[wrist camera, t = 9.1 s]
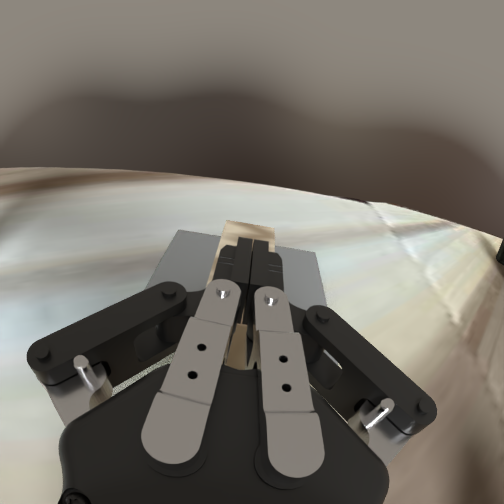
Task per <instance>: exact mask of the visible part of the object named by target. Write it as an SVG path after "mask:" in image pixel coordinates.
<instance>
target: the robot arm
mask: <svg viewBox="0 0 504 504" xmlns="http://www.w3.org/2000/svg"><path fill="white" fill-rule="evenodd" d="M252 244H253V247H252ZM243 309H244V312H243ZM242 314H243V321H242V324H245V325H247V331H246V336H245V370H238V369H235V368H232V367H229V366H227V365H226V364H227V360H228V356H229V351H230V347H231V343H232V339H233V334H234V333H235V331H236V326H237V323H238V324H241V319H242ZM324 350H326V351H327V352H328V353H329V354H330V355H331V356H332V357H333V358H334V359H335V360H336V361H337V362H338V363H339V364H340V365H341V367H342V369H341V368H340V367H339V366H338V365H337V364H336V363H335V362H334V361H333V360H332V359H331V358H330V357H329V356H328V355H327V354H325V353H324ZM175 351H176V352H175ZM173 352H175V354H174V357H173V359H172V362H171V364H167V365H164V366H161V367H159V368H157V369H155V370H153V371H151V372H150V373H148V374H147V375H145V376H144V377H142V378H141V379H139V380H138V381H136V382H134V383H133V384H131V385H130V386H128V387H127V388H125V389H123V390H122V391H120V392H119V393H117V394H115V395H114V396H112V393H113V388H114V387H115V386H117V385H119V384H121V383H122V382H124V381H126V380H128V379H129V378H131V377H133V376H135V375H136V374H138V373H140V372H141V371H143V370H145V369H146V368H148V367H150V366H151V365H153V364H155V363H157V362H158V361H160V360H162V359H163V358H165V357H166V356H168V355H170V354H171V353H173ZM27 362H28V364H29V366H30V367H31V369H32V370H33V372H34V373H35V374H36V377H37V379H38V380H39V382H40V383H41V384H42V386H43V387H44V388H45V390H46V391H47V392H48V394H49V396H50V398H51V400H52V402H53V404H54V406H55V408H56V410H57V412H58V414H59V416H60V417H61V419H62V421H63V423H64V425H65V427H66V428H65V429H64V431H63V432H62V434H61V437H60V441H59V456H60V461H61V466H62V473H63V490H62V494H61V497H60V499H59V502H58V504H383V502H384V499H385V497H386V495H387V492H388V488H389V474H388V470H387V468H386V466H387V465H388V464H389V463H390V462H391V461H392V460H393V458H394V457H395V456H396V455H397V454H398V453H399V451H400V450H401V449H402V448H403V446H404V445H405V444H406V443H407V441H408V440H409V439H410V438H412V437H413V436H414V435H416V434H417V433H419V432H420V431H421V430H423V429H424V428H425V427H427V426H428V425H429V424H431V423H432V422H433V421H434V420H435V418H436V415H437V408H436V404H435V402H434V401H433V399H432V398H431V397H430V396H428V395H427V394H426V393H425V392H424V391H423V390H422V389H421V388H420V387H419V386H417V385H416V384H415V383H414V382H413V381H412V380H411V379H410V378H409V377H407V376H406V375H405V374H404V373H403V372H402V371H401V370H400V369H398V368H397V367H396V366H395V365H394V364H393V363H392V362H391V361H390V360H388V359H387V358H386V357H385V356H384V355H383V354H382V353H381V352H379V351H378V350H377V349H376V348H375V347H374V346H373V345H372V344H370V343H369V342H368V341H367V340H366V339H365V338H364V337H363V336H361V335H360V334H359V333H358V332H357V331H356V330H355V329H354V328H352V327H351V326H350V325H349V324H348V323H347V322H346V321H344V320H343V319H342V318H341V317H340V316H339V315H338V314H337V313H335V312H334V311H333V310H332V309H330V308H328V307H326V306H323V305H313V306H311V307H309V308H308V309H307V311H306V310H304V309H301V308H299V307H296V306H294V305H293V304H291V303H290V302H289V301H288V297H287V295H286V294H285V293H284V280H283V264H282V258H281V257H280V256H279V254H278V253H275V252H269V241H263V240H257V239H254V242H253V239H251V238H245V237H238V242H237V246H232V245H225V246H224V247H223V248H222V249H221V250H220V253H219V257H218V260H217V264H216V268H215V271H214V275H213V279H212V281H211V282H210V283H209V284H208V285H207V287H206V288H205V289H203V290H200V291H193V292H187V291H186V289H185V287H184V286H183V285H181V284H179V283H177V282H172V281H166V282H161V283H159V284H157V285H155V286H152V287H150V288H148V289H146V290H144V291H142V292H139V293H137V294H135V295H133V296H131V297H129V298H127V299H124V300H122V301H120V302H118V303H116V304H114V305H112V306H109V307H107V308H105V309H103V310H101V311H99V312H97V313H94V314H92V315H90V316H88V317H86V318H84V319H82V320H80V321H77V322H75V323H73V324H71V325H69V326H67V327H65V328H63V329H61V330H59V331H56V332H54V333H52V334H50V335H48V336H46V337H44V338H42V339H40V340H38V341H36V342H34V343H33V344H32V345H31V346H30V348H29V350H28V352H27ZM309 383H310V384H311V385H312V386H313V387H314V388H315V389H316V390H317V391H316V390H315V389H314V388H313V387H311V386H310V385H309ZM321 395H322V396H321ZM111 396H112V397H111ZM330 405H331V406H332V407H333V408H334V409H335V410H336V411H337V412H338V413H339V414H340V415H341V416H342V417H343V418H344V419H345V420H346V421H347V422H348V424H347V423H346V422H345V421H344V420H343V419H342V418H341V416H340V415H339V414H338V413H337V412H336V411H335V410H334V409H333V408H332V407H331V406H330Z"/></svg>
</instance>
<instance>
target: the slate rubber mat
mask: <svg viewBox="0 0 504 504" xmlns="http://www.w3.org/2000/svg"><path fill="white" fill-rule="evenodd" d="M220 239H221V236H215V235H208V234H202V233H196V232H190V231H184V230H178V231H177V233H176V235H175V236H174V238H173V240H172V242H171V243H170V245H169V247H168V248H167V250H166V252H165V254H164V255H163V257H162V259H161V261H160V263H159V264H158V266H157V268H156V270H155V272H154V273H153V275H152V277H151V279H150V281H149V283H148V284H147V286H146V288H145V290H146V289H148V288H150V287H152V286H155V285H157V284H159V283H161V282H166V281H172V282H177V283H179V284H181V285H183V286H184V287H185V289H186V291H187V292H193V291H200V290H203V289H205V288H206V285H207V282H208V278H209V275H210V272H211V268H212V265H213V262H214V259H215V255H216V252H217V249H218V246H219V242H220ZM275 253H278V254H279V256H280V257H281V258H282V264H283V280H284V293H285V294H286V295H287V297H288V301H289V302H290V303H291V304H293V305H294V306H296V307H299V308H301V309H304V310H306V311H307V309H308V308H309V307H311V306H313V305H323V306H326V307H327V304H326V299H325V294H324V290H323V285H322V280H321V276H320V271H319V267H318V263H317V258H316V254H315V252H309V251H304V250H298V249H292V248H286V247H280V246H275ZM324 353H325V354H327V355H328V356H329V357H330V358H331V359H332V360H333V361H334V362H335V363H336V364H337V365H338V363H337V361H336V360H335V359H334V358H333V357H332V356H331V355H330V354H329V353H328V352H327V351H326V350H324Z"/></svg>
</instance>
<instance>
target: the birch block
mask: <svg viewBox="0 0 504 504" xmlns="http://www.w3.org/2000/svg"><path fill="white" fill-rule="evenodd" d="M238 237H245V238H251V239H253V242H254V239H257V240H263V241H269V252H275V238H274V228H271V227H265V226H259V225H253V224H247V223H241V222H235V221H229V220H226V223H225V226H224V230H223V233H222V236H221V239H220V242H219V246H218V249H217V252H216V255H215V259H214V262H213V265H212V268H211V272H210V275H209V278H208V282H207V285H208V284H209V283H210V282H211V281H212V279H213V275H214V271H215V268H216V264H217V260H218V257H219V253H220V250H221V249H222V248H223V247H224V246H225V245H232V246H237V242H238ZM252 247H253V244H252ZM207 285H206V287H207ZM243 312H244V309H243ZM242 321H243V314H242V319H241V324H238V323H237V326H236V331H235V333H234V334H233V339H232V343H231V347H230V351H229V356H228V360H227V364H226V365H227V366H229V367H232V368H235V369H240V370H245V336H246V331H247V325H245V324H242Z"/></svg>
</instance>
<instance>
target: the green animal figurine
mask: <svg viewBox="0 0 504 504" xmlns="http://www.w3.org/2000/svg"><path fill="white" fill-rule="evenodd" d="M496 259H497V261H498V262H499V263H501V264H503V265H504V239H503V241H502V243H501V246H500V248H499V251H498V253H497V255H496Z"/></svg>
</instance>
